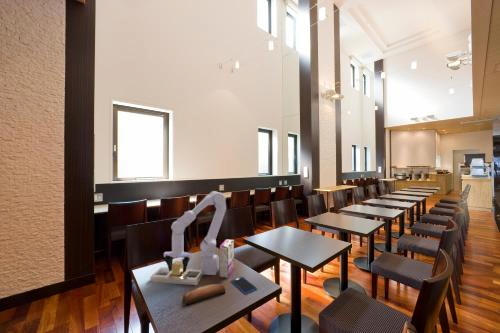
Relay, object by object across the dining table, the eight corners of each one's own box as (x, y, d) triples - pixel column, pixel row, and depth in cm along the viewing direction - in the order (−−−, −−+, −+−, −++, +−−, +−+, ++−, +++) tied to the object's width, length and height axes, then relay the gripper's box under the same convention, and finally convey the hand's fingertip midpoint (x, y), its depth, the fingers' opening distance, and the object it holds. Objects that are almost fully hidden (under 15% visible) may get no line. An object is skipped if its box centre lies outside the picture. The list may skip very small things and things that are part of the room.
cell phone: (242, 277, 112) (242, 276, 112) (258, 290, 100) (258, 288, 100) (230, 281, 108) (230, 280, 108) (245, 295, 96) (245, 294, 96)
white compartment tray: (203, 274, 114) (203, 270, 114) (196, 285, 104) (196, 280, 104) (161, 271, 117) (161, 267, 117) (150, 281, 107) (150, 276, 107)
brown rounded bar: (218, 284, 105) (221, 275, 102) (223, 298, 99) (226, 289, 97) (181, 295, 95) (182, 286, 92) (184, 311, 90) (186, 302, 87)
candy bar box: (225, 267, 122) (225, 238, 122) (234, 268, 121) (234, 239, 121) (219, 277, 111) (219, 246, 111) (228, 278, 110) (228, 246, 110)
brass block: (182, 276, 112) (182, 261, 112) (179, 280, 108) (179, 264, 108) (175, 276, 112) (175, 261, 112) (171, 280, 108) (171, 264, 108)
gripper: (160, 246, 107) (160, 273, 107) (187, 248, 105) (187, 275, 105) (167, 241, 114) (167, 267, 114) (193, 243, 112) (193, 269, 112)
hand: (177, 270), depth 110 cm, fingers open, 7 cm apart
